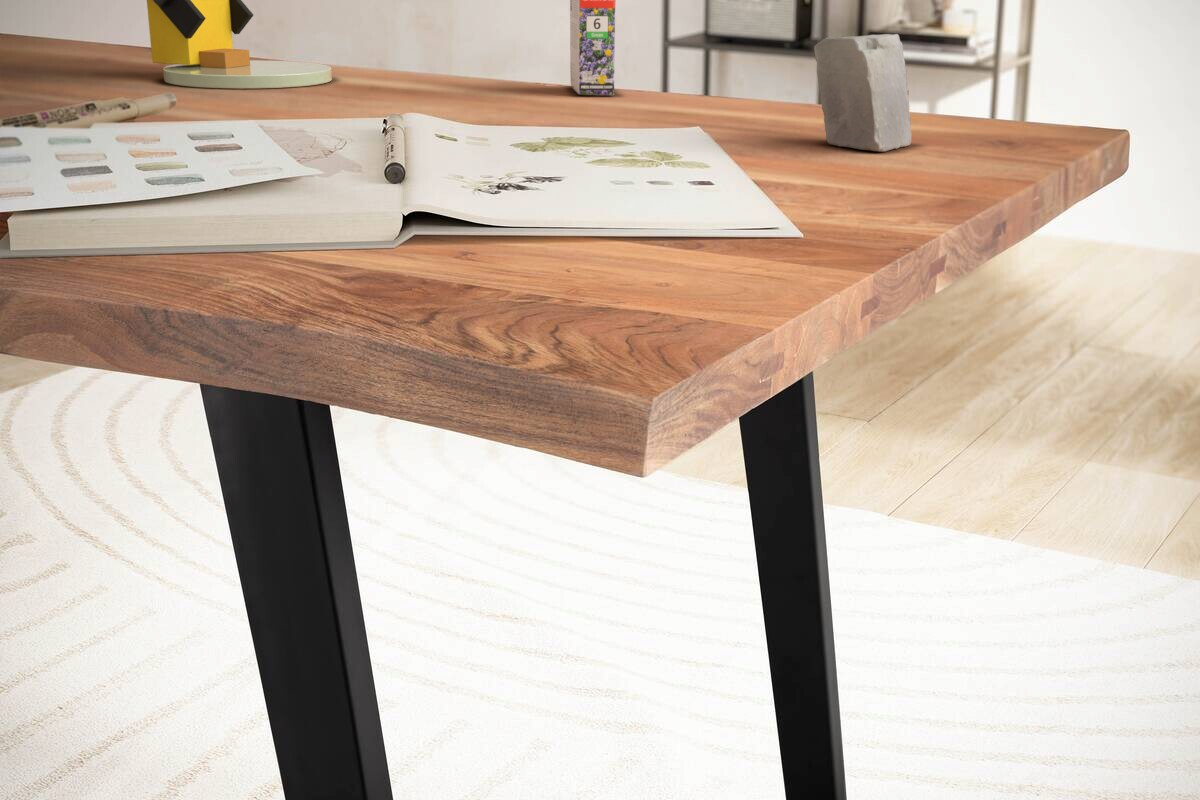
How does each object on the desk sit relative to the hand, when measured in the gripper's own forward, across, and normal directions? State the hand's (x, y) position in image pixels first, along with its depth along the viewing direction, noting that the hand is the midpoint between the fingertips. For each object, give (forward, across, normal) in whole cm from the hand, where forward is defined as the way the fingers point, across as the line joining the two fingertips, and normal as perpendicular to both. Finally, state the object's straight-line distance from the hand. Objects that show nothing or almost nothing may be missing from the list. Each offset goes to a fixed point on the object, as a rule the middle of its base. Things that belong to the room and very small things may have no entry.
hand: (220, 26), depth 125 cm
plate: (+6, 0, -1) cm, 6 cm away
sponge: (0, 0, -5) cm, 5 cm away
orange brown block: (+3, 0, -2) cm, 4 cm away
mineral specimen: (+50, +15, +43) cm, 67 cm away
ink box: (+29, -8, +22) cm, 37 cm away
